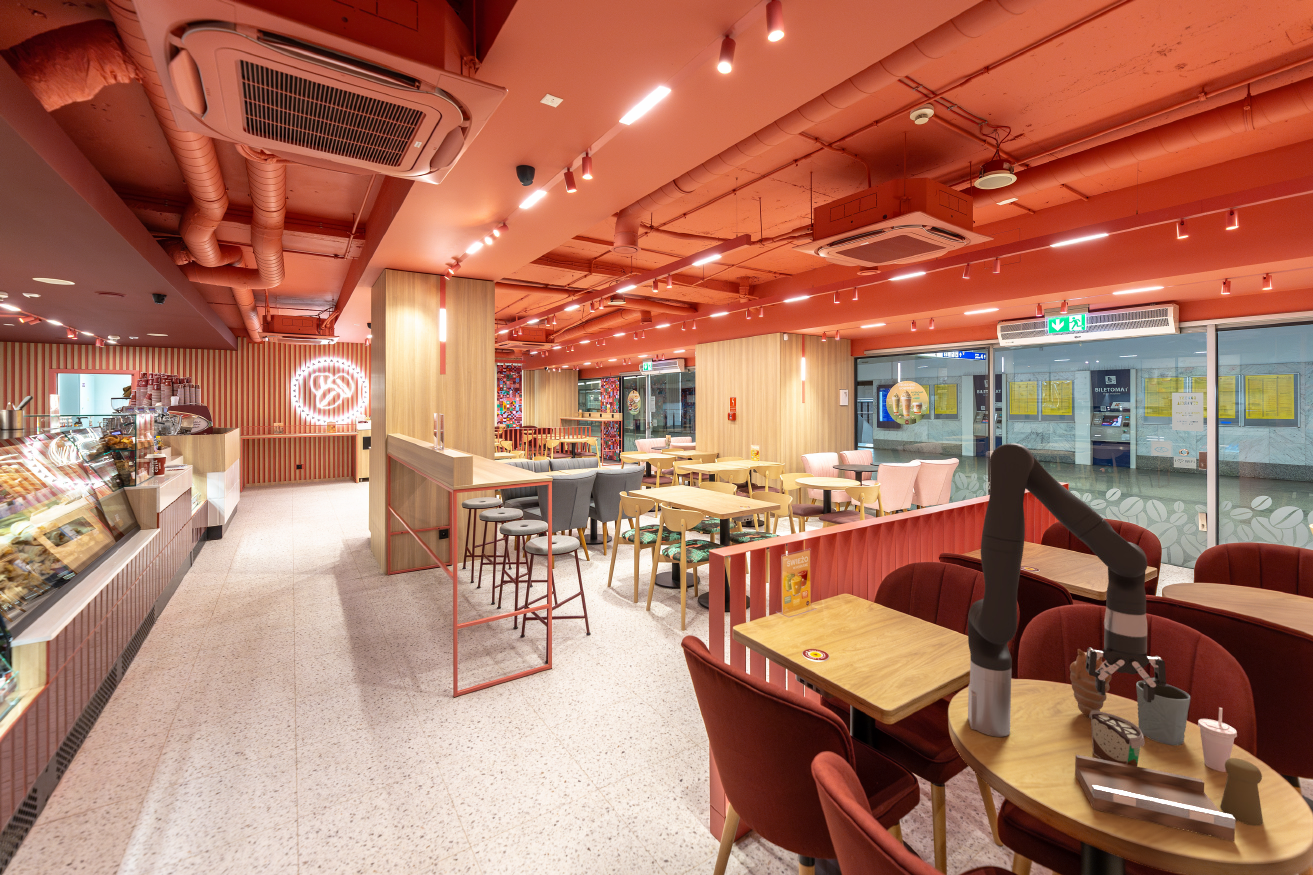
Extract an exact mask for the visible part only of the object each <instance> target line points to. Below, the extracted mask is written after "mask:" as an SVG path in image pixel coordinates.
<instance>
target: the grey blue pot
mask: <svg viewBox="0 0 1313 875" xmlns="http://www.w3.org/2000/svg"><path fill="white" fill-rule="evenodd" d="M1144 683H1145V680H1139V681H1137V682H1136V685H1135V687H1136V696H1137V698H1136V700H1137V701H1136V702H1137V715H1138V716H1137V717H1138V722H1137V723H1138V726H1137V727H1138V728H1139V729H1140V730H1141V732H1142V734H1143V737H1145V738H1148V739H1150V740H1152V741H1154V742H1157V743H1161V744H1165V745H1167V746H1168V745H1169V746H1181V744H1182V745H1183V744H1184V742H1185V732H1186V729H1187V720H1188V715H1189V714H1188V712H1189V709H1190V704H1191V695H1190V694H1189V693H1188V692H1186V691H1184V690H1182V689H1180V688H1179V687H1175V686H1174V685H1173V686H1172V685H1170V684H1168V683H1166V685H1165V686H1161V685H1159V686H1156V687H1155V698H1154V700H1151V703H1150V702H1146V701H1145V699H1144V697H1143V690H1144Z"/></svg>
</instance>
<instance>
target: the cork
mask: <svg viewBox="0 0 1313 875" xmlns="http://www.w3.org/2000/svg"><path fill="white" fill-rule="evenodd" d="M1225 769H1226V771H1225V772H1226V773H1227V778H1226V781H1225V785H1224V789H1223V794H1222V796H1221V797H1222V798H1221V800H1220V806H1219V807H1220V811H1221V812H1222V813H1227V814H1231V815H1233V817H1234V818H1235V821H1237V822H1240V823H1243V824H1246V825H1251V826H1259V827H1260V826H1262V825H1263V824H1264V819H1263V818H1264V817H1263V813H1262V812H1263V810H1262V804H1261V798H1260V791H1259V784H1260V783H1261V781H1262V779H1263V775H1262V771H1261V770H1260V769H1259V767H1257V766H1256V765H1255V764H1253V763H1251V762H1249V761H1248V760H1244V759H1242V758H1241V759H1240V758H1236V757H1230V759H1228V760H1227V761H1226V762H1225Z"/></svg>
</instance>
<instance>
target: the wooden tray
mask: <svg viewBox="0 0 1313 875" xmlns="http://www.w3.org/2000/svg"><path fill="white" fill-rule="evenodd" d="M1074 760H1075V762H1074V767H1075V768H1074V774H1075V776H1076V778H1077V780H1078V782H1079V783H1080V785H1081V788H1082V789H1083V792H1084V794H1085V796H1086V797H1087V799H1088V801H1089V803H1090V805H1091V807H1092V809H1093V810H1094V809H1095V811H1099V812H1104V813H1109V814H1112V815H1117V816H1121V817H1126V818H1130V819H1135V820H1138V821H1143V822H1147V823H1151V824H1152V823H1153V824H1155V825H1156V824H1157V825H1160V826H1164V827H1169V826H1170V827H1169V828H1173V827H1174V828H1173V829H1178V828H1179V830H1182V829H1184V830H1183V831H1186V830H1189V831H1188V832H1191V831H1192V833H1195V832H1197V833H1196V834H1201V835H1204V834H1205V836H1208V835H1211V836H1210V837H1214V838H1218V839H1220V840H1221V839H1222V840H1227V841H1231V842H1235V836H1236V835H1235V834H1236V820H1235V818H1234V817H1233V815H1231V814H1227V813H1224V812H1223V811H1221V809H1219V808H1218V806H1216V805H1215V803H1214V802H1213V801H1212V799H1211V798H1210V797H1209V796H1208V794H1207V793H1206V792H1205V782H1204V781H1203V779H1202V778H1196V777H1193V776H1192V777H1191V776H1186V775H1182V774H1177V773H1172V772H1166V771H1162V770H1158V769H1157V770H1156V769H1151V768H1147V767H1146V768H1145V767H1141V766H1138V765H1137V766H1132V765H1127V764H1122V763H1117V762H1112V761H1107V760H1102V759H1100V758H1098V757H1097V758H1096V757H1093V756H1092V757H1091V756H1086V755H1080V754H1075V758H1074Z"/></svg>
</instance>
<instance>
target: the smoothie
mask: <svg viewBox="0 0 1313 875" xmlns="http://www.w3.org/2000/svg"><path fill="white" fill-rule="evenodd" d="M1197 722H1198V723H1197V726H1198V728H1199V729H1200V730H1199V731H1200V739H1201V740H1200V741H1201V746H1202V747H1201V748H1202V754H1203V762H1204V765H1205V766H1207V767H1208V768H1210V769H1212V770H1214V771H1218V772H1223V773H1224V772H1226V769H1225V762H1226V761H1227V760H1228V759H1230V758H1231V754H1232V750H1233V747H1234V741H1235V738H1238V734H1237V733H1238V732H1237V730H1236V728H1234V727H1232V726H1230V725H1229V724H1227V723H1225V722H1223V707H1218V720H1214V719H1210V718H1209V719H1208V718H1200V719H1198V721H1197Z"/></svg>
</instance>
